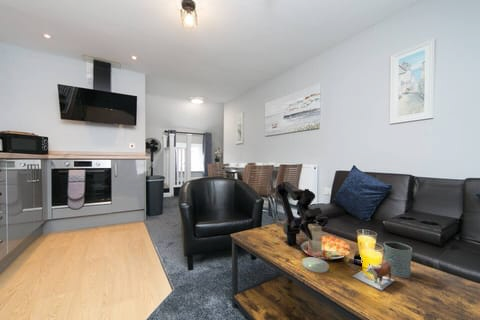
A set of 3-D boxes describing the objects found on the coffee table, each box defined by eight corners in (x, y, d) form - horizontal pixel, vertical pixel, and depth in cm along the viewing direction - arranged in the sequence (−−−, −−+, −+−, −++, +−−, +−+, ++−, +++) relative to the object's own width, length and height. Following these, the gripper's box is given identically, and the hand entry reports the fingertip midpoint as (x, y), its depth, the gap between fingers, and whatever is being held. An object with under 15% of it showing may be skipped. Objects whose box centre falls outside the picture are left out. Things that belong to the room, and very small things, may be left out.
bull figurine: (363, 283, 80) (363, 263, 80) (384, 275, 85) (384, 257, 85) (374, 290, 76) (374, 269, 76) (395, 281, 81) (395, 261, 81)
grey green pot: (388, 276, 85) (388, 248, 85) (380, 264, 94) (380, 239, 95) (417, 280, 81) (417, 252, 82) (406, 268, 91) (406, 242, 91)
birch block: (308, 250, 95) (308, 224, 95) (316, 249, 96) (316, 223, 96) (313, 254, 91) (313, 227, 91) (321, 254, 92) (321, 226, 92)
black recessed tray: (343, 263, 97) (343, 253, 97) (347, 257, 102) (347, 248, 102) (373, 272, 89) (373, 262, 89) (375, 266, 94) (375, 256, 94)
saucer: (297, 261, 98) (297, 258, 98) (317, 258, 101) (317, 255, 101) (311, 274, 86) (311, 271, 86) (334, 270, 89) (334, 268, 89)
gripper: (293, 202, 96) (304, 233, 85) (327, 201, 99) (342, 230, 88) (286, 214, 104) (296, 243, 93) (318, 212, 107) (331, 240, 96)
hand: (316, 239), depth 92 cm, fingers closed on birch block, 4 cm apart
